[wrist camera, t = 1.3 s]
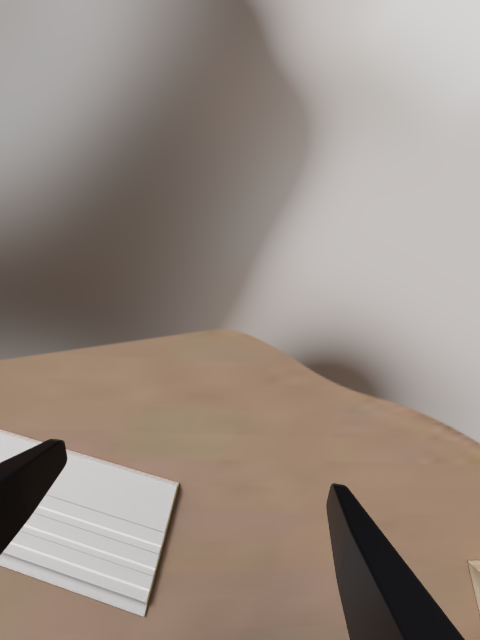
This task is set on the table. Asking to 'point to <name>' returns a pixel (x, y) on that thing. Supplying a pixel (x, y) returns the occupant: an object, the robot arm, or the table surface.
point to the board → (475, 578)
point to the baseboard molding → (94, 529)
